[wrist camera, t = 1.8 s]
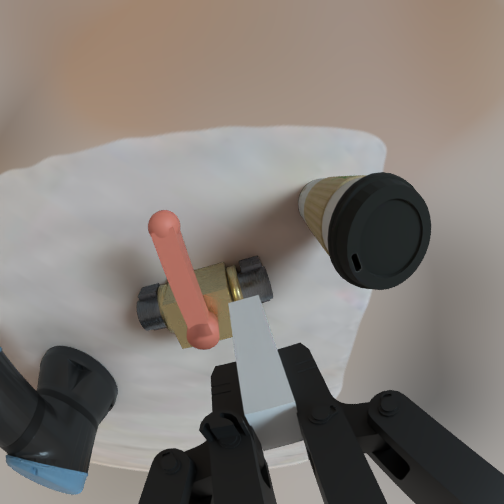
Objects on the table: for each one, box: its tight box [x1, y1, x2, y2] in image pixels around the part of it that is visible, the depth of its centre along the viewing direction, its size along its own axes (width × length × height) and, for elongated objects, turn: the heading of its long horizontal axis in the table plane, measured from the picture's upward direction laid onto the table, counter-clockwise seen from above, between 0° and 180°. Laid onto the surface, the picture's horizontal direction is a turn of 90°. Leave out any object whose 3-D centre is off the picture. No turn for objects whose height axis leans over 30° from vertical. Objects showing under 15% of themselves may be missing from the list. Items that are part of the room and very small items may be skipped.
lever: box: [148, 210, 219, 350], centre depth 24 cm, size 14×3×3 cm, turn 14°
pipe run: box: [137, 256, 273, 349], centre depth 31 cm, size 16×6×8 cm, turn 104°
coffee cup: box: [298, 172, 431, 290], centre depth 26 cm, size 10×10×15 cm
